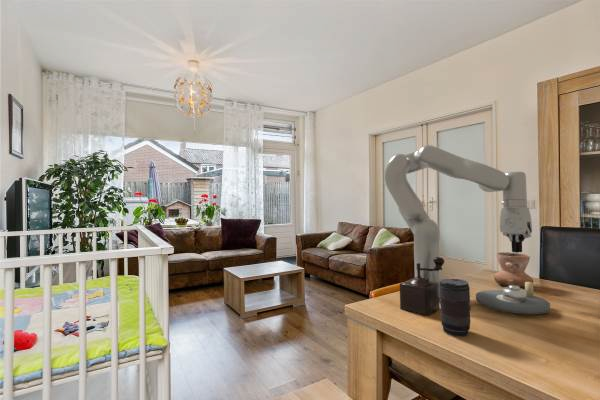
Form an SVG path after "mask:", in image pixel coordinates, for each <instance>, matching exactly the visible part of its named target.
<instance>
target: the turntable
mask: <svg viewBox="0 0 600 400" xmlns="http://www.w3.org/2000/svg"><path fill="white" fill-rule="evenodd" d="M524 290H526V299H527V301H526V302H522V303H520V302H511V301H507V300H505V299H503V290H501V289H489V290H487V289H486V290H481V291H477V292H476V293H475V300H476V302H477V303H479V304H480V305H481V306H482V305H483V306H484V307H488V308H490V309H494V310H497V311H502V312H507V313H514V314H523V315H524V314H525V315H538V314H539V315H540V314H546V313H548V312H550V311H551V303H550V302H549V301H548V300H546V299H545V298H542V297H539V296H536V295H535V294H534V282H533V283H532V282H525V288H524Z"/></svg>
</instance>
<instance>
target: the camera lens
mask: <svg viewBox="0 0 600 400" xmlns="http://www.w3.org/2000/svg"><path fill="white" fill-rule="evenodd" d="M470 289H471V288H470V285H469V281H467V280H464V279H459V278H443V279H442V278H441V279H440V285H439V293H440V300H439V304H440V321H441V326H442V330H443V332H444V334H445V333H446V334H447V335H450V336H453V337H459V338H460V337H461V338H462V337H467V336H468V335H469V330H470V329H471V309H472V308H471V304H470V301H471V293H470V291H471V290H470Z"/></svg>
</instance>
